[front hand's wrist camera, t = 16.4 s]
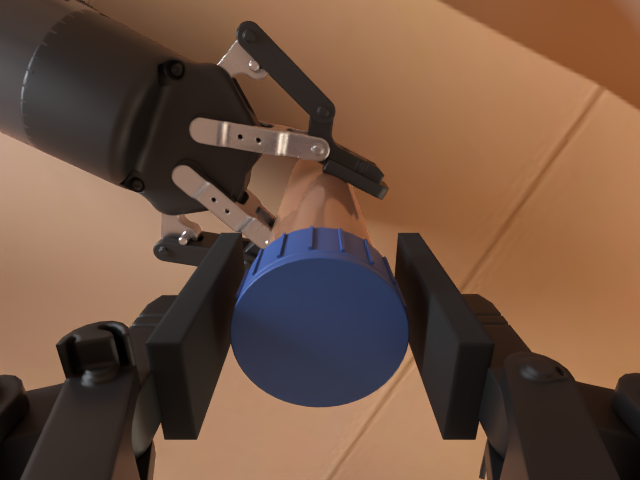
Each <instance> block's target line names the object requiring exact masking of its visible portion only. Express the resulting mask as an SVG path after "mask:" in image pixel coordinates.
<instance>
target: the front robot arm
mask: <svg viewBox="0 0 640 480" xmlns="http://www.w3.org/2000/svg"><path fill="white" fill-rule="evenodd" d="M244 275H245V266H244V254H243V241H242V233H221V234H220V236H219V237H218V238H217V240H216V241H215V243H214V244H213V246H212V247H211V249H210V250H209V251H208V253H207V254H206V256H205V257H204V259H203V260H202V262H201V263H200V264H199V266H198V267H197V269H196V270H195V272H194V273H193V275H192V276H191V277H190V279H189V280H188V282H187V283H186V285H185V286H184V288H183V289H182V290H181V292H180V293H179V295H162V296H161V297H159V298H157V299H156V300H154V301H153V302H151V303H150V304H148V305H147V306H146V308H145V309H144V310H143V311H142V313H141V314H140V316H139V317H138V318H137V319H136V320H135V321H134V323H133V324H132V326H130V328H129V329H128V327H127V326H126V325H125V324H123V323H120V322H115V321H103V322H97V323H93V324H88V325H85V326H83V327H81V328H78V329H76V330H73V331H72V332H70V333H69V334H67V335H66V336H64V337H63V338H62V339H61V340H60V341H59V342H58V343H57V344H56V348H57V351H58V354H59V357H60V361H61V364H62V367H63V370H64V373H65V377H66V380H65V382H64V383H62V384H58V385H54V386H49V387H44V388H40V389H35V390H30V391H25V389H24V386H23V383H22V380H20V379H19V378H18V377H16V376H12V375H0V480H153V473H154V465H155V456H156V453H155V446H154V442H153V437H154V435H155V433H156V431H157V429H158V427H159V425H160V423H161V425H162V429H163V434H164V439H165V440H197V438H198V435H199V432H200V429H201V426H202V424H203V421H204V418H205V415H206V412H207V409H208V407H209V404H210V401H211V398H212V395H213V392H214V390H215V387H216V384H217V381H218V378H219V375H220V373H221V370H222V367H223V364H224V361H225V358H226V356H227V353H228V350H229V347H230V344H231V339H230V323H231V318H232V314H233V311H234V308H235V305H236V303H237V300H238V299H237V298H235V297H236V294H237V292H238V290H239V287H240V285H241V282H242V280H243V277H244ZM395 279H396V280H397V283H398V285H399V288H400V290H401V293H402V295H403V298H404V300H405V303H406V305H407V309H406V313H407V316H408V320H409V330H410V331H409V344H410V347H411V350H412V353H413V356H414V358H415V361H416V364H417V367H418V370H419V373H420V375H421V378H422V381H423V384H424V387H425V390H426V392H427V395H428V398H429V401H430V404H431V407H432V409H433V412H434V415H435V418H436V421H437V424H438V426H439V429H440V432H441V435H442V438H443V440H475V439H476V434H477V429H478V425H479V421H480V423H481V425H482V427H483V429H484V431H485V433H486V435H487V442H486V446H485V451H484V455H483V460H482V464H481V469H480V475H479V478H481V479H485V474H486V472H487V480H640V373H631V374H625V375H623V376H622V377H621V378H619V380H618V383H617V386H616V389H615V390H613V389H608V388H604V387H599V386H594V385H590V384H585V383H581V382H577V381H575V379H574V377H573V376H572V375H571V373H570V372H569V371H568V369H566V368H565V367H564V366H562V365H561V364H560V363H558V362H557V361H555V360H553V359H550V358H548V357H546V356H544V355H540V354H536V353H533V352H531V351H530V349H529V348H528V347H527V346H526V344H525V343H524V342H523V341H522V339H521V338H520V337H519V336H518V334H517V333H516V332H515V331H514V330H513V328H512V327H511V326H510V325H508V322H507V321H506V320H505V318H504V317H503V316H501V313H500V312H499V311H498V310H497V309H496V307H495V306H494V305H493V304H492V303H491V302H489V301H488V300H486V299H485V298H483V297H482V296H480V295H478V294H461V293H460V292H459V290H458V289H457V288H456V286H455V285H454V283H453V282H452V280H451V279H450V277H449V276H448V275H447V273H446V272H445V270H444V269H443V267H442V266H441V264H440V263H439V262H438V260H437V259H436V257H435V256H434V254H433V253H432V251H431V250H430V249H429V247H428V246H427V244H426V243H425V241H424V240H423V238H422V237H421V236H420V234H419V233H398V241H397V254H396V266H395Z"/></svg>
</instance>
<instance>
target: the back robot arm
mask: <svg viewBox="0 0 640 480" xmlns="http://www.w3.org/2000/svg"><path fill="white" fill-rule="evenodd" d="M236 37H237V40H236V41H235V43H234V44H233V45H232V46H231V48H230V49H229V50H228V51H227V53H226V54H225V55H224V57H223V58H222V59H221V60H220V62H219V63H218V64H214V63H195V62H192V61H190V60H188V59H186V58H184V57H182V56H180V55H178V54H177V53H175V52H173V51H171V50H169V49H167V48H165V47H163V46H161V45H160V44H158V43H156V42H154V41H152V40H150V39H148V38H146V37H145V36H143V35H141V34H139V33H137V32H135V31H133V30H131V29H129V28H128V27H126V26H124V25H122V24H120V23H118V22H116V21H114V20H113V19H111V18H109V17H107V16H105V15H103V14H101V13H99V12H97V10H95V9H94V8H93V7H91V6H90V5H88V4H87V3H85V2H83V1H82V0H0V132H1V133H4V134H6V135H8V136H10V137H12V138H15V139H17V140H19V141H21V142H23V143H26V144H28V145H30V146H32V147H34V148H37V149H39V150H41V151H43V152H45V153H47V154H49V155H52V156H54V157H56V158H58V159H60V160H63V161H65V162H67V163H69V164H71V165H74V166H76V167H78V168H80V169H82V170H85V171H87V172H89V173H91V174H93V175H95V176H98V177H100V178H102V179H104V180H106V181H109V182H111V183H113V184H115V185H117V186H120V187H122V188H125V189H129V190H132V191H135V192H137V193H139V194H141V195H143V196H144V197H145V198H146V199H147V200H149V202H150V203H151V204H152V205H153V206H154V207H155V208H156V209H157V210H158V211H159V212H161V213H162V236H161V240H160V241H159V242H158V243H157V244H156V245H155V246H154V249H153V251H154V254H155V256H156V257H157V258H158V259H160V260H162V261H167V262H173V263H180V264H186V265H192V266H199V264H200V263H201V262H202V260H203V259H204V257H205V256H206V254H207V253H208V251H209V250H210V249H211V247H212V246H213V244H214V243H215V241H216V240H217V238H218V237H219V236H220V234H216V233H210V232H204V231H202V230H201V228H200V226H199V225H198V224H196V223H194V222H191V221H189V220H188V219H187V218H186V217H185V215H184V214H189V213H195V212H202V211H209V210H210V211H211V212H212V213H213V214H215V215H216V216H217V217H218V218H219V219H220V220H222V221H223V222H224V223H225V224H226V225H228V226H229V227H230V228H231V229H233V230H234V231H236V232H241V233H243V234H244V235H245V236H246V237H248V238H249V239H246V238H242V241H243V254H244V266H245V272H246V270H247V269H249V270H250V268H251V266H252V264H253V262H254V260H255V259H256V258H257V256H258V254H259V251H260V249H261V248H263V249H264V248H265V247H266V246H267V243H268V240H269V237H270V234H271V231H272V228H273V225H274V222H275V220H276V217H275V216H273V215H272V214H271V213H270V212H269V211H268V210H267V209H265V208H264V207H263V206H262V205H261V203H260V201H259V200H258V198H257V197H256V196H254V195H253V194H252V193H251V192H250V191H249V190H248V189H247V186H248V184H249V182H250V176H251V169H252V167H253V165H254V164H255V163H256V162H257V161H258V159H259V158H260V157H261V155H262V153H263V154H268V155H274V156H289V157H295V158H300V159H306V160H311V161H316V162H318V163H320V164H322V165H323V171H325V172H327V173H329V174H331V175H333V176H335V177H338V178H340V179H341V180H343V181H345V182H347V183H349V184H351V185H353V186H355V187H357V188H359V189H361V190H363V191H365V192H367V193H369V194H370V195H372V196H374V197H376V198H379V199H383V197H384V196H385V194H386V192H387V191H388V189H389V188H388V186H387V185H386V184H385V182H383V181H382V178H383V177H384V175H383V173H382V172H381V171H380V169H379V168H378V167H377V166H376V164H375V163H373V162H371V161H369V160H367V159H365V158H364V157H362V156H360V155H358V154H356V153H354V152H352V151H350V150H348V149H347V148H345V147H343V146H341V145H339V144H337V143H336V142H335V141H334V140H333V138H332V126H333V118H334V116H335V107H334V104H333V103H332V102H331V101H330V100H329V99H328V98H327V97H326V96H325V95H324V94H323V92H322V91H321V90H320V89H319V88H318V87H317V86H316V85H315V84H314V83H313V82H312V81H311V80H310V79H309V78H308V77H307V76H306V75H305V74H304V73H303V72H302V71H301V70H300V69H299V68H298V66H297V65H296V64H295V63H294V62H293V61H292V60H291V59H290V58H289V57H288V56H287V55H286V54H285V53H284V52H283V51H282V50H281V49H280V48H279V47H278V46H277V45H276V44H275V43H274V42H273V41H272V39H271V38H270V37H269V36H268V35H267V34H266V33H265V32H264V31H263V30H262V29H261V28H260V27H259V26H258V25H257V24H256V23H254V22H252V21H245V22H243V23H241V24H240V25H239V27H238V29H237V32H236ZM242 74H246V75H248V76H249V77H250V78H252V79H255V80H264V79H266V78H267V77H268V76H269V75H270V76H271V77H272V78H273V79H274V80H275V81H276V82H277V83H278V84H279V85H280V86H281V87H282V88H283V89H284V90H285V91H286V92H287V93H288V94H289V95H290V96H291V97H292V98H293V99H294V100H295V101H296V102H297V103H298V104H299V105H300V106H301V107H302V108H303V109H304V110H305V111H306V112H307V113H308V114H309V115H310V120H309V130H308V131H307V130H302V129H296V128H291V127H288V126H285V125H280V124H274V123H269V122H264V121H258V119H257V117H256V115H255V113H254V111H253V110H252V108H251V106H250V104H249V102H248V100H247V99H246V97H245V95H244V93H243V91H242V89H241V88H240V86H239V84H238V82H237V80H236V77H238V76H239V75H242ZM227 209H228V210H229V211H228V210H227Z"/></svg>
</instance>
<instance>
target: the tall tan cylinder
mask: <svg viewBox="0 0 640 480" xmlns="http://www.w3.org/2000/svg"><path fill="white" fill-rule="evenodd" d="M310 226H313V228H315V227H325V228H334V229H338V228H342V230H343V231H346V232H349V233H352V234H354V235H356V236H358V237H360V238H362V239H363V240H364V239H367V240H368V242H369V244H370V245H371V246H373V245H372V242H371V239H370V236H369V233H368V230H367V227H366V224H365V221H364V218H363V216H362V213H361V210H360V207H359V204H358V201H357V198H356V195H355V192H354V189H353V186H352V185H351V184H349V183H347V182H345V181H343V180H341V179H340V178H338V177H335V176H333V175H331V174H329V173H327V172H325V171H323V165H322V164H320V163H318V162H316V161H311V160H306V159H299V160H298V161H297V163H296V164H295V166H294V168H293V170H292V173H291V176H290V179H289V182H288V184H287V187H286V190H285V193H284V196H283V199H282V202H281V205H280V208H279V211H278V214H277V217H276V220H275V222H274V225H273V228H272V231H271V234H270V237H269V240H268V243H267V246H268V245H269V244H270V243H272V242H273V241H275V240H276V239H278V238H280V237H281V236H282V234H283V233H286V234H288V233H290V232H293V231H297V230H300V229H306V228H310ZM267 246H266V247H267Z"/></svg>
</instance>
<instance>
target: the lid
mask: <svg viewBox="0 0 640 480" xmlns="http://www.w3.org/2000/svg"><path fill="white" fill-rule="evenodd" d="M235 298H237V299H238V300H237V303H236V305H235V308H234V311H233V314H232V318H231V323H230V339H231V346H232V349H233V352H234V356H235V358H236V360H237V362H238V364H239V366H240V367H241V369H242V370H243V372H244V373H245V374H246V375H247V377H248V378H249V379H250V380H251V381H252V382H253V383H254V384H256V385H257V386H258V387H259V388H261V389H262V390H263V391H265V392H266V393H268V394H270V395H272V396H274V397H275V398H278V399H280V400H283V401H285V402H289V403H292V404H296V405H301V406H307V407H331V406H339V405H343V404H347V403H351V402H354V401H357V400H359V399H361V398H364V397H366V396H368V395H370V394H371V393H373V392H374V391H376V390H378V389H379V388H380V387H381V386H383V385H384V384H385V383H386V382H387V381H388V380H389V379H390V378H391V377H392V376H393V375H394V373H395V372H396V371H397V369H398V368H399V366H400V364H401V363H402V361H403V359H404V356H405V353H406V351H407V347H408V342H409V331H410V330H409V320H408V316H407V313H406V309H407V305H406V303H405V300H404V298H403V295H402V293H401V290H400V288H399V285H398V283H397V280H396V279H395V278H394V276H393V273H392V271H391V268H390V266H389V263H388V261H387V258H386V257H382V256H381V255H380V253H379V252H378V251H377V250H376V249H375V248H374V247H373V246H371V245H370V244H369V242H368V240H367V239H364V240H363V239H362V238H360V237H358V236H356V235H354V234H352V233H349V232H346V231H343V230H342V228H338V229H334V228H325V227H315V228H313V226H310V228H306V229H300V230H297V231H293V232H290V233H288V234H286V233H283V234H282V236H281V237H280V238H278V239H276V240H275V241H273V242H272V243H270V244H269V245H268V246H267V247H265V248H264V249H263V248H261V249H260V251H259V254H258V256H257V258H256V259H255V260H254V262H253V264H252V266H251V268H250V270H249V269H247V270H246V272H245V275H244V277H243V280H242V282H241V285H240V287H239V290H238V292H237V294H236V297H235Z"/></svg>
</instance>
